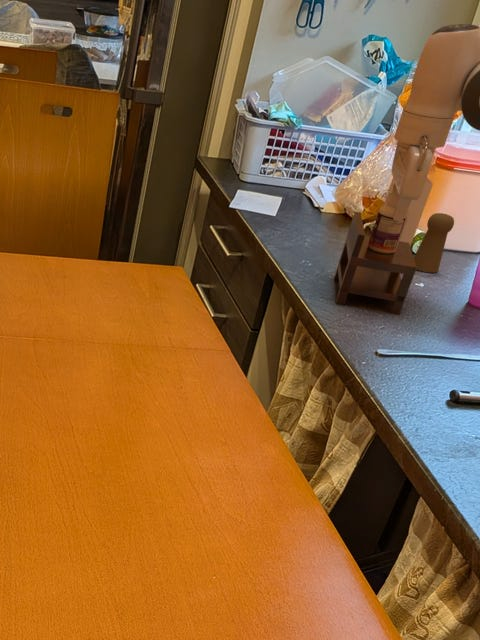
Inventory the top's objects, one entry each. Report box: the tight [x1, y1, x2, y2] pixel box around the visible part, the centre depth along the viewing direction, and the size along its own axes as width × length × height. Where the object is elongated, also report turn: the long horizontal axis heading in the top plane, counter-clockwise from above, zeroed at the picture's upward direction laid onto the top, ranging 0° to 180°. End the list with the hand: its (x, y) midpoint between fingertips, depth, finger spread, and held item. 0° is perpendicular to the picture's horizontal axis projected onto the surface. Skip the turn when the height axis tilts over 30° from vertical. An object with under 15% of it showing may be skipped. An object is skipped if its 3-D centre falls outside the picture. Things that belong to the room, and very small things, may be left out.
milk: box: [383, 177, 434, 275], centre depth 189 cm, size 6×6×22 cm
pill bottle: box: [368, 193, 409, 254], centre depth 176 cm, size 5×5×10 cm
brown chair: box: [333, 211, 417, 316], centre depth 181 cm, size 12×16×13 cm
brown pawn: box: [413, 212, 455, 273], centre depth 199 cm, size 6×6×11 cm
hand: (395, 213), depth 175 cm, fingers open, 8 cm apart
